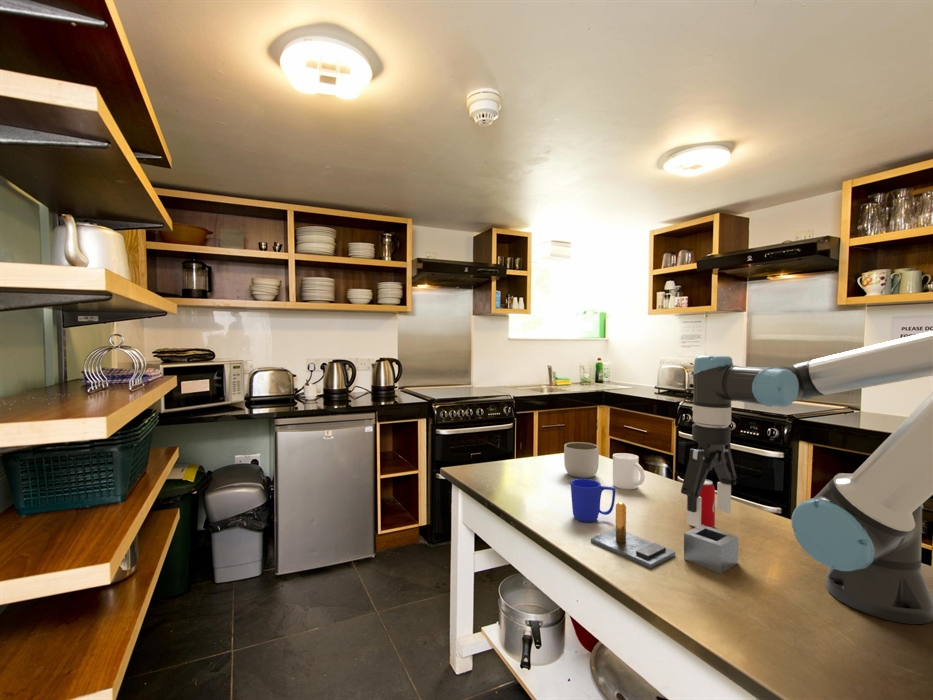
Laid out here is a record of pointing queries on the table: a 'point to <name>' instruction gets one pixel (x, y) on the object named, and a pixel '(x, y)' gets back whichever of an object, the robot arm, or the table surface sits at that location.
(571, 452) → the planter
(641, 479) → the mug
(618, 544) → the keeper
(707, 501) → the beverage can
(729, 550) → the hollow square tube
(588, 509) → the mug
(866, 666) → the table surface
